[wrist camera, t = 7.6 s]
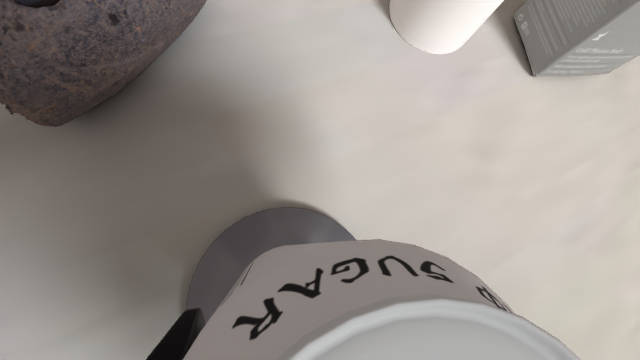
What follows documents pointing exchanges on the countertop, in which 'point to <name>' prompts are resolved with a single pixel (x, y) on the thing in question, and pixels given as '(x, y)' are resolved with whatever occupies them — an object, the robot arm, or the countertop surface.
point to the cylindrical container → (439, 22)
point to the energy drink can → (366, 309)
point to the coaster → (255, 249)
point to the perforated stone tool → (80, 51)
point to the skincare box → (579, 35)
